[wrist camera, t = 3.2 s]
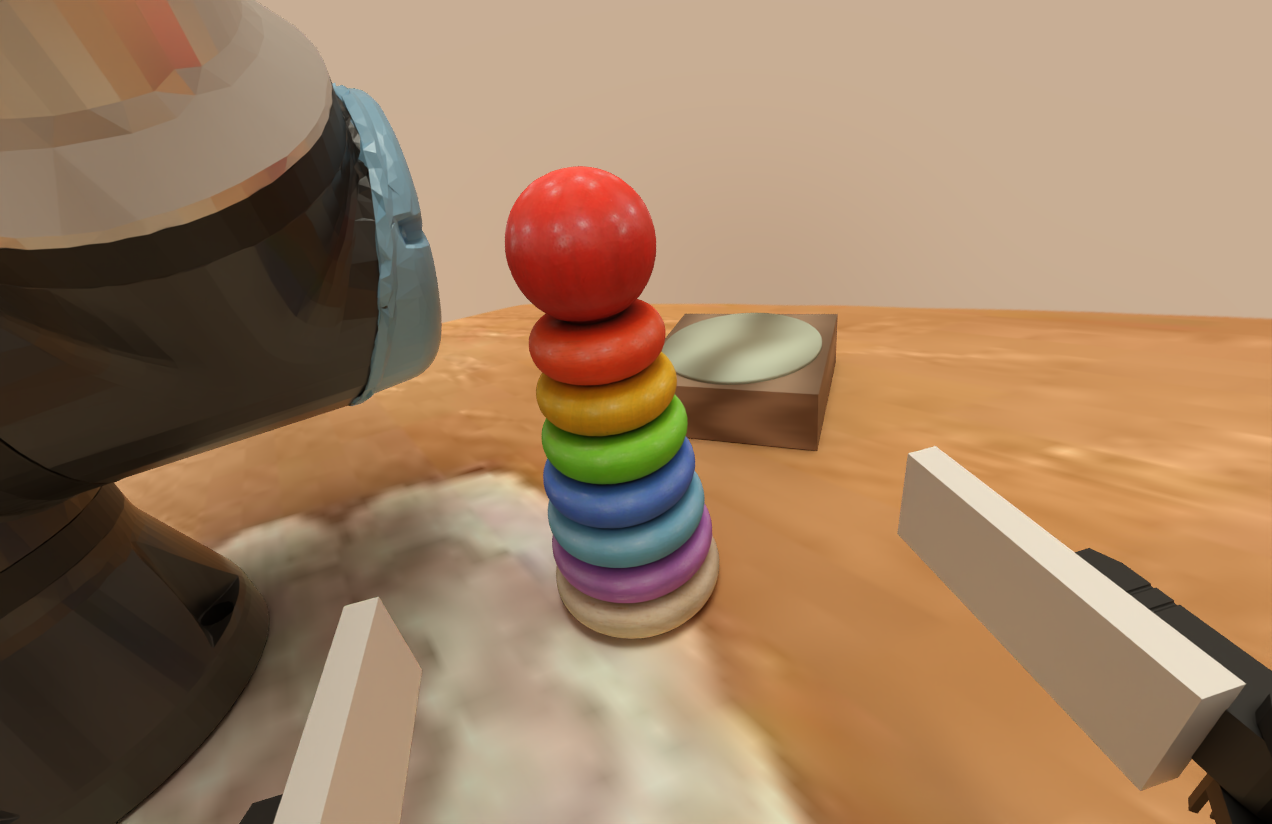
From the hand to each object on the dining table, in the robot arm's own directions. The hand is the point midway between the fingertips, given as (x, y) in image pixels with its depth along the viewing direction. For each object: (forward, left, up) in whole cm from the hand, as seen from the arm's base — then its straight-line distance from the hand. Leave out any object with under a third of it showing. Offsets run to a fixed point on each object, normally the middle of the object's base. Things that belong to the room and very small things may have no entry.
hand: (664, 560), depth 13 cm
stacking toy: (-5, +8, -11) cm, 14 cm away
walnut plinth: (-4, +26, -10) cm, 28 cm away
